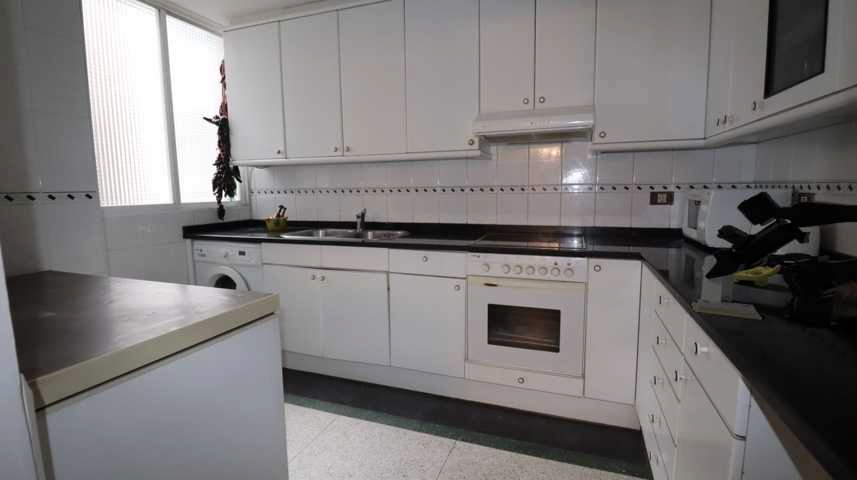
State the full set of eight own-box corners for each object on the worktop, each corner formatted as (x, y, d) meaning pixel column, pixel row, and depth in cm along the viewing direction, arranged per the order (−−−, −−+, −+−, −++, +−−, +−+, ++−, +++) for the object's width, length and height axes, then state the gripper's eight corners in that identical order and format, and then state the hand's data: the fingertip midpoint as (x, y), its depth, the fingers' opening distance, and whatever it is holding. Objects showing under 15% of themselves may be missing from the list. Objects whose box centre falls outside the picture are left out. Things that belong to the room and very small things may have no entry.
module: (731, 301, 108) (736, 256, 106) (719, 305, 104) (724, 259, 102) (709, 296, 112) (713, 253, 110) (697, 300, 109) (701, 256, 107)
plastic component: (698, 269, 136) (718, 255, 138) (705, 288, 137) (724, 273, 140) (762, 278, 117) (784, 261, 119) (769, 300, 118) (790, 283, 121)
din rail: (754, 311, 99) (755, 303, 99) (761, 319, 93) (762, 311, 93) (691, 303, 105) (692, 296, 105) (694, 311, 99) (695, 303, 99)
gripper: (758, 213, 106) (707, 249, 117) (726, 217, 96) (674, 255, 107) (793, 247, 101) (736, 281, 111) (762, 254, 91) (704, 290, 102)
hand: (712, 276), depth 108 cm, fingers closed on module, 7 cm apart
